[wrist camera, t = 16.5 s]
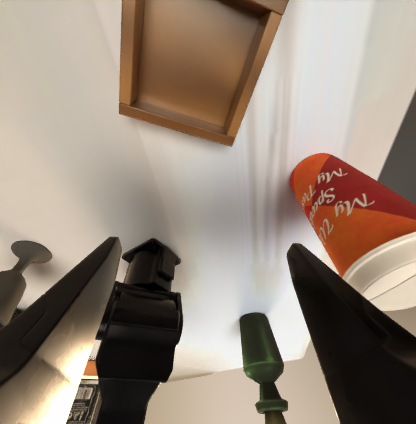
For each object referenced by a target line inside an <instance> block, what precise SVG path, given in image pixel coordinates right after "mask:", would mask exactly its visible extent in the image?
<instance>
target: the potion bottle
mask: <svg viewBox="0 0 416 424" xmlns="http://www.w3.org/2000/svg"><path fill="white" fill-rule="evenodd" d="M240 332H241V344H242V356H243V368H244V372H245V374H246V375H247V377H249V378H250V379H252V380H254V381H255V382H257V383H259V384H260V401H258V402H257V403H256V404H255V406H256V409H257V411H258V413H260V414H265V424H286V422H285V419H284V416H283V414H282V412H284V411H287V410H288V402H287V401H286V400H284V399H282V398H281V397H280V395H279V392H278V390H277V388H276V385H275V383H274V382H275V381H276V380H277V379H278V377H279V376H280V375H281V374H282V373H283V369H284V363H283V361H282V358H281V355H280V352H279V349H278V347H277V344H276V341H275V338H274V335H273V333H272V330H271V327H270V324H269V321H268V319H267V317H266V316H265V315H264V314H262V313H250V314H246V315H244V316H242V318H241V319H240Z"/></svg>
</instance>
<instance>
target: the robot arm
mask: <svg viewBox="0 0 416 424" xmlns="http://www.w3.org/2000/svg"><path fill="white" fill-rule="evenodd" d="M121 252H122V247H121V244H120V240H119V238H118V237H109V238H108V239H106V240H105V241H104V242H103V243H102V244H101V245H100V246H98V247H97V248H96V249H95V250H94V251H93V252H92V253H90V254H89V255H88V256H87V257H86V258H85V259H83V260H82V261H81V262H80V263H79V264H78V265H77V266H75V267H74V268H73V269H72V270H71V271H70V272H69V273H67V274H66V275H65V276H64V277H63V278H62V279H61V280H59V281H58V282H57V283H56V284H55V285H54V286H52V287H51V288H50V289H49V290H48V291H47V292H46V293H45V294H43V295H42V296H41V297H40V298H39V299H37V300H36V301H35V302H34V303H33V304H32V305H30V306H29V307H28V308H27V309H26V310H24V311H23V312H22V313H21V314H20V315H18V316H17V317H16V318H14V319H13V320H12V321H11V322H9V323H8V324H7V325H5V326H4V327H3V328H1V329H0V424H66V421H67V418H68V415H69V412H70V409H71V406H72V404H73V401H74V398H75V395H76V392H77V389H78V386H79V383H80V380H81V378H82V375H83V372H84V369H85V366H86V363H87V360H88V357H89V355H90V352H91V349H92V346H93V343H94V340H101V343H100V346H99V349H98V352H97V355H96V361H95V365H96V371H97V377H98V382H99V388H100V394H101V397H100V400H99V404H98V407H97V411H96V414H95V418H94V421H93V424H144V420H145V415H146V410H147V406H148V402H149V400H150V399H151V397H152V396H153V394H154V393H155V391H156V390H157V388H158V387H159V385H160V384H161V383H166V382H167V380H168V378H169V376H170V374H171V372H172V370H173V361H174V352H175V347H176V346H177V345H178V343H179V341H180V337H181V333H182V327H183V314H182V304H181V293H178V292H176V293H175V292H171V283H172V280H173V279H174V270H175V266H176V265H178V264H180V262H181V260H180V259H179V258H178V257H177V256H175V255H174V254H173V253H172V252H171V251H169V250H168V249H167V248H166V247H164V246H163V245H162V244H161V243H159V242H158V241H157V240H156V239H150V240H148V241H147V242H145V243H143V244H141V245H139V246H137V247H135V248H134V249H132V250H130V251H128V252H126V253H124V254H123V255H122V259H124V260H125V261H127V262H128V263H129V266H128V269H127V272H126V276H125V279H124V282H123V283H120V282H119V281H115V279H116V275H117V271H118V266H119V261H120V257H121ZM287 260H288V265H289V269H290V274H291V278H292V282H293V286H294V289H295V292H296V295H297V298H298V301H299V304H300V307H301V310H302V313H303V316H304V319H305V321H306V324H307V327H308V330H309V333H310V336H311V339H312V342H313V345H314V348H315V351H316V354H317V357H318V360H319V363H320V366H321V369H322V371H323V375H324V378H325V381H326V384H327V387H328V390H329V393H330V396H331V399H332V402H333V405H334V408H335V411H336V414H337V417H338V420H339V423H340V424H416V337H415V336H414V335H412V334H411V333H410V332H408V331H407V330H406V329H404V328H403V327H401V326H400V325H399V324H398V323H396V322H395V321H394V320H392V319H391V318H390V317H389V316H387V315H386V314H385V313H383V312H382V311H381V310H380V309H378V308H377V307H376V306H375V305H373V304H372V303H371V302H370V301H369V300H367V299H366V298H365V297H364V296H362V295H361V294H360V293H359V292H358V291H357V290H355V289H354V288H353V287H352V286H351V285H349V284H348V283H347V282H346V281H345V280H344V279H342V278H341V277H340V276H339V275H338V274H336V273H335V272H334V271H333V270H332V269H330V268H329V267H328V266H327V265H326V264H324V263H323V262H322V261H321V260H320V259H319V258H317V257H316V256H315V255H314V254H313V253H311V252H310V251H309V250H308V249H307V248H305V247H304V246H303V245H302V244H299V243H293V244H292V245H291V247H290V249H289V250H288V252H287Z"/></svg>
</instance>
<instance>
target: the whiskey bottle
mask: <svg viewBox="0 0 416 424" xmlns="http://www.w3.org/2000/svg"><path fill="white" fill-rule="evenodd" d="M100 397H101V394H100V388H99V382H98V377H97V371H96V365H95V361H89V360H87V363H86V366H85V369H84V372H83V375H82V378H81V380H80V383H79V386H78V389H77V392H76V395H75V398H74V401H73V404H72V406H71V409H70V412H69V415H68V418H67V421H66V424H93V421H94V418H95V414H96V411H97V407H98V404H99V400H100Z"/></svg>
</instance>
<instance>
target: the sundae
mask: <svg viewBox="0 0 416 424" xmlns="http://www.w3.org/2000/svg"><path fill="white" fill-rule="evenodd" d="M11 249H12V251H13V253H14V254H15V255H16V256H17V257H19V258H20V259H19V261H18V263H17V264H16V265H15V266H14V268H13V269H11V270H8V271H1V272H0V329H1V328H3V327H4V326H5V325H7V324H8V323H9V322H10V319H11V317H12V315H13V313H14V311H15V309H16V307H17V305H18V303H19V301H20V300H21V298H22V296H23V293H24V291H25V288H26V282H25V278H24V277H23V276H22V273H23V271H24V270H25V269H26V267H27V266H28V265H29V264H30V263H46V262H48V261H50V259H51V253H50V252H49V251H48V250H47V249H46V248H45V247H43V246H42V245H40V244H37V243H34V242H30V241H18V242H15V243H13V244H12V246H11Z"/></svg>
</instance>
